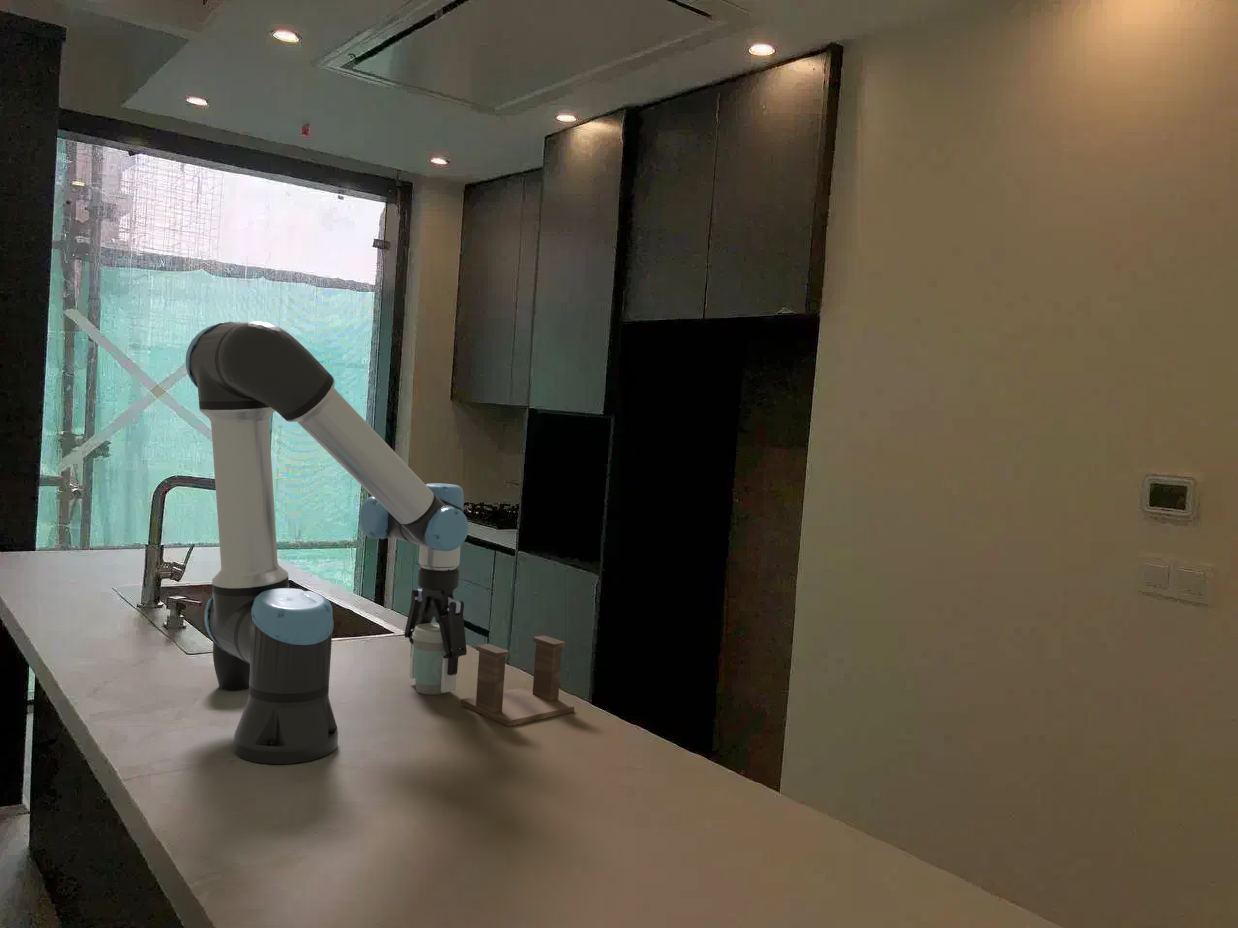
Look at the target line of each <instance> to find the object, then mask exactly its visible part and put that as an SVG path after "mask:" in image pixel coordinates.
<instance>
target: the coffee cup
mask: <svg viewBox="0 0 1238 928" xmlns="http://www.w3.org/2000/svg"><path fill="white" fill-rule="evenodd" d="M412 638H413V644H414V663H415V678H414V679H415V690H416V692H418V693H420V694H422V695H431V696H435V695H442V694H443V693H442V692H441V680H442V663H443V656H444V655H446V653H445V649H444V644H443V640H442V636H441V631H440V627H439V624H438V623H437V622H431V623H426V624H419V625H417V626H416V627H415V630H414V632H413V635H412ZM451 651H452V649H451Z"/></svg>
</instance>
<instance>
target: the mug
mask: <svg viewBox="0 0 1238 928" xmlns="http://www.w3.org/2000/svg"><path fill="white" fill-rule="evenodd" d="M212 641H213V640H212ZM212 643H213V644H212V659H213V666H214V670H215V675H216V679H217V682H218V687H219V689H221V690H224V691H231V692H236V691H238V692H239V691H244V690H249V678H250V664H248V663H247V662H245V661H243V660H242V659H240V658H238V657H236V656H233V655H230V654H228V653H227V652H226V651H224V650H222V649H221V648H220V647H219V646H218V645H217V644H216V643H215V642H214V641H213V642H212Z"/></svg>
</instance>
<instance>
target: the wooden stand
mask: <svg viewBox="0 0 1238 928" xmlns="http://www.w3.org/2000/svg"><path fill="white" fill-rule="evenodd" d="M532 642H534V643H535V651H534V652H535V653H534V655H535V656H534V668H533V682H532V683H533V684H532V688H530V687H527V686H522V687H518V688H513V689H507V690H504V688H505V687H504V684H505V674H506V673H505V672H506V657H509V656H510V651H509V650H508V649H504V648H502V647H499V646H496V645H493V644H491V643H484V644H477V645H475V651H477V652H478V666H477V681H476V693H475V694H476V696H471V697H466V698H461V699H460V706H462V707H465V708H467V709H469V708H470V709H469V710H471V709H472V710H471V711H473V710H474V711H473V712H475V711H476V712H475V713H478V712H479V713H478V714H480V713H481V714H480V715H482V714H483V715H482V716H484V715H485V716H484V717H486V716H488V717H487V718H489V719H491V718H492V719H491V720H493V719H494V720H493V721H495V720H496V721H495V722H497V721H498V722H497V723H499V722H500V723H499V724H502V725H504V724H505V725H504V726H506V725H507V726H506V727H508V726H509V727H512V725H514V726H517V724H518V725H522V724H526V722H527V723H530V722H535V720H536V721H539V719H540V720H543V719H544V720H545V719H548V717H549V718H553V717H557V716H561V715H566V714H570V713H573V712H575V706H574V705H572V704H570V703H567V702H565V701H562V700H559V694H560V693H559V692H560V679H561V677H560V676H561V665H562V663H561V662H562V649H563V648H566V645H567V644H566V643H567V642H565V641H563V640H561V639H560V640H559V639H557V638H554V637H552V636H548V635H545V634H544V635H536V636H533V637H532Z"/></svg>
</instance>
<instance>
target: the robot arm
mask: <svg viewBox="0 0 1238 928" xmlns="http://www.w3.org/2000/svg"><path fill="white" fill-rule="evenodd" d="M185 369H186V373H187V375H188V377H189V379H190V382H192V384H193V385H194V386H195V388H197V395H198V406H199V407H198V408H199V412H201V413H202V414H203V415H204V416H205V417H207V418H208V419H209V421H210V424H211V425H210V427H211V441H212V442H211V443H212V457H213V469H214V472H213V473H214V485H215V496H216V499H215V500H216V511H217V512H216V513H217V528H218V540H219V541H218V542H219V555H220V571H219V572H218V573H217V574H216V575H215V576H214V577H213V578H212V580H211V585H212V586H211V589H212V595H211V597H210V598H208V600H207V603H206V606H205V610H204V625H205V630H206V632H207V634H208V635H209V637H210V639H211V640H212V641H214V642H215V643H216V644H217V645H218V646H219V647H220V648H221V649H222V650H224V651H226V652H227V653H228V654H230V655H233V656H236V657H238V658H240V659H242V660H243V661H245V662H247V663H248V664H250V678H249V689H248V698H247V701H246V704H245V706H244V709H243V711H242V714H241V717H240V719H239V722H238V724H237V726H236V729H235V732H234V735H233V736H234V737H233V738H234V739H233V752H234V753H235V754H236V756H238V757H240V758H241V759H244V760H247V761H249V762H250V761H251V762H254V763H260V764H270V765H273V764H274V765H284V764H285V765H287V764H297V763H298V764H299V763H305V762H309V761H310V762H311V761H314V760H318V759H321V758H323V757H325V756H329V754H332V753H333V752H334V751H335V750H336V749H337V748H338V740H339V729H338V725H337V722H336V719H335V718H336V717H335V714H334V711H333V707H332V704H331V701H330V697H329V694H330V692H329V691H330V677H331V676H330V675H331V674H330V673H331V661H332V660H331V658H332V657H331V656H332V642H333V641H332V639H333V638H332V637H333V630H334V618H333V606H332V604H331V602H330V600H328V599H327V598H326V597H325V596H323V595H321V594H319V593H317V592H315V591H311V590H304V589H301V588H293V587H292V588H291V587H290V583H289V581H290V580H289V572H288V571H287V570H285V569H284V568H283V567H282V566H280V565H279V563H278V548H277V547H278V545H277V532H276V529H277V527H276V516H275V515H276V514H275V497H274V482H273V466H272V450H271V449H272V448H271V431H270V417H271V416H272V415H273V414H274V413H275V412H276V413H277V414H279V415H280V416H281V418H283V419H284V420H285V422H289V423H290V422H291V423H293V422H295V423H296V422H297V424H298V425H300V427H301V428H302V429H303V430H305V431H306V432H307V434H309V436H311V438H313V440H315V441H316V442H317V443H318V444H319V445H320V446H321V447H322V448H323V449H324V450H325V451H326V452H327V453H328V454H329V455H330V456H331V457H332V458H333V459H334V460H335V461H336V462H337V463H338V464H339V465H340V466H341V467H342V468H344V470H345V471H346V472H347V473H348V474H349V475H350V476H352V478H353V479H354V480H355V481H356V482H358V484H360V485H361V487H362V488H364V490H366V491H367V492H368V494H370V495H371V496H369V497H367V498H366V499H365V500H364V501H363V503H362V505H361V507H360V513H359V515H360V516H359V523H360V527H361V530H362V532H363V534H364V535H365V536H366V537H368V538H370V539H381V540H385V539H397V540H399V541H403V542H407V543H411V544H415V545H418V546H419V552H418V553H419V554H418V564H419V565H420V566H419V568H418V574H417V576H418V577H417V585H418V587H419V588H417V589H416V588H415V589H412V590H411V601H410V602H411V603H410V605H409V606H410V608H409V611H408V614H407V615H408V616H407V619H406V625H405V627H404V628H405V629H404V634H403V635H404V637H405V638H407V639H409V640H408V641H409V643H410V665H409V666H410V669H409V679H415V663H414V644H413V638H412V635H413V632H414V630H415V627H416V626H417V625H419V624H426V623H432V621H433V618H435V623H438V624H439V627H440V631H441V636H442V640H443V644H444V649H445V653H446V655H444V656H443V663H442V680H441V692H442V694H445V693H449V692H454V691H456V688H457V687H456V685H457V675H458V667H459V658H460V657H462V656H463V657H464V656H466V655H467V653H468V651H467V641H466V640H467V639H466V631H465V620H464V609H465V602H464V601H463V600H456V599H455V598H454V597H455V596H454V590H456V589H458V587H459V581H460V569H459V568H458V566H459V565H460V560H461V546H462V545H463V544H464V542H465V540H467V537H468V533H469V521H468V519H467V516H466V514H464V510H465V508H464V499H465V497H464V495H465V494H464V489H463V488H462V487H461V486H460V485H458V484H452V483H440V482H439V483H438V482H436V483H435V482H434V483H433V482H432V483H425V482H424V481H422V479H421V478H420V477H419V476H418V475H417V473H415V472H414V471H413V470H412V469H411V467H410V466H409V465H407V464H406V463H405V461H404V460H403V459H402V458H401V457H400V456H399V455H398V454H397V453H396V452H395V451H394V449H393V448H391V446H390V445H389V444H388V443H387V442H386V441H385V440H384V439H383V438H382V437H381V435H379V434H378V433H377V432H376V431H375V429H374V428H373V427H371V425H369V423H368V422H367V421H366V420H365V419H364V418H363V417H362V416H361V415H360V413H358V412H357V410H356V409H354V407H353V406H352V405H351V404H350V403H349V402H348V401H347V400H346V398H344V396H342V395H341V393H340V392H339V391H337V389H336V388H335V383H336V381H335V377H334V376H332V374H331V373H330V372H329V370H327V369H326V368H325V367H324V366H323V365H322V364H321V363H320V361H318V359H317V358H316V357H315V356H314V355H313V354H312V353H311V352H310V351H309V350H308V349H307V348H306V347H305V346H304V345H302V344H301V342H300V341H299V340H297V339H296V338H295V337H294V336H293V335H292V334H290V333H289V332H287V330H285V329H283V328H282V327H279V326H277V325H276V324H273V323H269V322H266V321H265V322H264V321H245V322H244V321H243V322H242V321H240V322H239V321H238V322H237V321H225V322H224V321H223V322H218V323H216V324H213V325H210V326H207V327H204V329H202V330H200V331H199V332H198V333H197V334H196V336H194V337H193V338H192V340H191V341H190V343H189V345H188V347H187V350H186V355H185ZM451 649H452V651H451Z"/></svg>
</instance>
